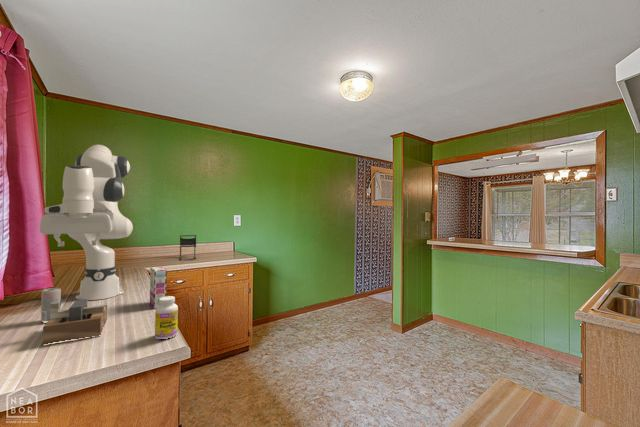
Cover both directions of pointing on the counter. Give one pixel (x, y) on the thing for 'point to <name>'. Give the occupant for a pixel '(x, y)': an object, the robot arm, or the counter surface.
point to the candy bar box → (157, 285)
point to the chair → (187, 242)
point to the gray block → (77, 310)
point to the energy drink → (49, 301)
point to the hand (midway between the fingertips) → (78, 245)
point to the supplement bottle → (166, 318)
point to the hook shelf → (73, 324)
